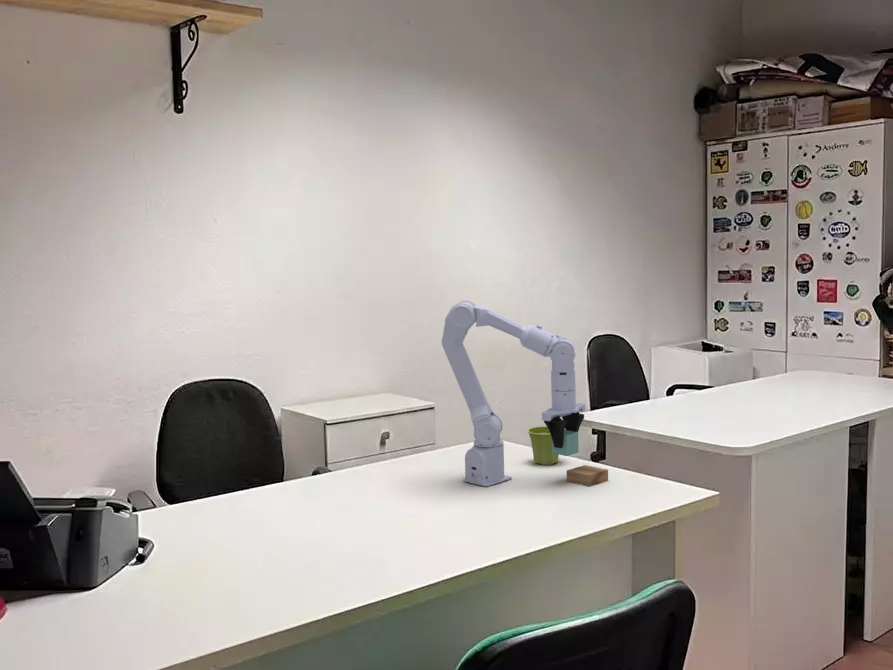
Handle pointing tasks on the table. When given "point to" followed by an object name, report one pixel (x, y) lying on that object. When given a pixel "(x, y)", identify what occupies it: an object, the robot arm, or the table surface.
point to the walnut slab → (587, 475)
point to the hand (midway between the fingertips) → (564, 445)
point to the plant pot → (542, 445)
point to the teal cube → (567, 444)
